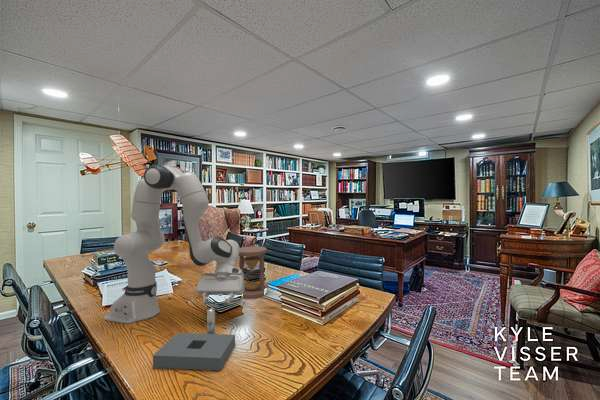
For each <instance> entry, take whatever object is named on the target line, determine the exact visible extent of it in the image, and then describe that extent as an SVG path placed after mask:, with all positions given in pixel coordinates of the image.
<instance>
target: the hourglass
mask: <svg viewBox="0 0 600 400" xmlns="http://www.w3.org/2000/svg"><path fill="white" fill-rule="evenodd" d="M267 253H268V249H267V247H265V246H259V245H258V246H257V245H256V246H255V245H253V246H251V245H250V246H242V247H239V259H238V267H239V269H241V270H242V272H243V274H244V275H245V272H244V267H245V265H246V266H247V267H248V269H249V270H250V273H253V272H254V269H255V268H256V266H257V265H258V268H259V271H260V272H259V277H258V279H259V282H257V281H252V280H251V281H249V282H246V283H245V287H244V293H243V298H242V299H248V300H250V299H256V298H257V299H258V298H262V297H264V296H265V295H264V289H265V288H266V287H267V286H266V285H265V279H266V278H265V277H266V276H265V274H264V271H265V260H264V259H265V254H267ZM263 295H264V296H263ZM261 296H262V297H261Z"/></svg>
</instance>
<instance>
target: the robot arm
mask: <svg viewBox="0 0 600 400" xmlns="http://www.w3.org/2000/svg"><path fill="white" fill-rule="evenodd" d="M165 191H168V192H170V191H171V192H172V191H176V192H177V195H178V197H179V199H180V202H181V205H182V211H183V213H182V224H183V226H184V231H185V234H186V238H187V242H188V246H189V257H190V260H191V262H192V263H194V264H195V265H196V266H199V267H203V266H207V264H210V263H212V262H213V261H215V262H216V265H215V268H214V272H210V273H207V272H205V273H204V274H202V275H201V276H200V277H199V281H198V283H197V285H196V287H195V291H196V292H197V294H199V295H202V296H203V297H202V298H203V301H202V303H203V304H202V305H208V304H209V303H208V301H209V300H208V298H207V296H208V294H211V295H218V296H219V295H221V296H222V295H227V296H229V298H228V299H226V298H225V300H226V302H225V306H226V305H228V306H229V305H231V301H232V300H233V299H234V297H235V296H237V295H242V294H243V293H244V287H245V284H246V283H245V273H244V274H243V272H242V270H241V269H240V268H238V267H236V266H237V263H238V262H239V258H240V256H239V248H240V245H239V243H238V242H237V241H236V240H234V239H225V238H223V237H221V236H215V237H211V238H209V239H208V240H206V241H203V239H202V235H201V230H200V226H199V222H200V221H201V220H200V219H201V218H202V216H203V215H204V214H205V212H206V211H207V210H208V206H209V199H208V195H207V193H206V189H205V188H204V186H203V183H202V182H201V181H200V179H199V178H198V176H197V174H195V173H194V172H190V171H186V172H185V171H184V170H183V169H181V168H179V167H174V166H171V165H162V164H153V165H150V166H148V167H147V168H145V170H144V172H143V177H142V178H141V179H140V180H138V182H137V185H136V187H135V190H134V195H133V200H132V206H131V213H130V216H131V219H132V220H133V221H135V224H136V230H135V231H132V232H128V233H125V234H123V235H121V236H118V237H117V238H116V240H115V241H114V243H113V250H114V252H115V254H116V255H117V257H120V258H121V259H122V260H123V261H124V264H125V266H126V271H127V273H126V274H127V284H126V286H124V287H122V288H121V289H122V291H123V292H124V293H123V294H122V295H121V296H120V297H119V298H117V299H116V300H115V301H113V302H112V304H111V306H110V309H109V312H108V313H106V314H105V315H104V316H103V320H104V321H109V322H115V323H121V324H127V325H129V324H131V323H135V322H139V321H143V320H147V319H150V318H152V317H154V316H156V315H157V314H159V313H160V311H161V309H160V307H159V303H158V299H157V298H158V297H157V289H158V288H157V287H158V286H157V280H156V265H155V264H154V263H153V262H151V261H150V258H149V257H150V256H149V253H152V252H154V251H157V250H158V249H160V248H161V247H162V246H163V245H164V244H165V241H166V240H165V239H166V237H165V234H164V233H163V232H162V230H161V227H160V220H159V219H160V218H159V217H160V209H161V202H162V195H163V193H164V192H165Z"/></svg>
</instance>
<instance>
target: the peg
mask: <svg viewBox="0 0 600 400" xmlns="http://www.w3.org/2000/svg"><path fill="white" fill-rule="evenodd" d="M206 334H216V308H215V307H209V308H207V309H206Z"/></svg>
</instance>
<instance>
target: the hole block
mask: <svg viewBox="0 0 600 400" xmlns="http://www.w3.org/2000/svg"><path fill="white" fill-rule="evenodd" d="M235 347H236V334H223V333H222V334H221V333H219V334H218V333H215V334H207V333H194V332H193V333H190V332H189V333H188V332H176V333H175V334H173V336H172V337H171V338H170V339H169V340H168V341H167V342H165V343H164V345H162V346H161V347H160V348H159V349H158V350H157V351H156V352H154V354H152V368H153V369H165V370H169V369H170V370H186V369H197V370H196V371H209V370H217V371H218V372H221V371H222V369H223V367H224V366H225V364H226V362H227V361H228V359H229V357H230V355H231V354H232V352H233V350H234V349H235Z"/></svg>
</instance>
